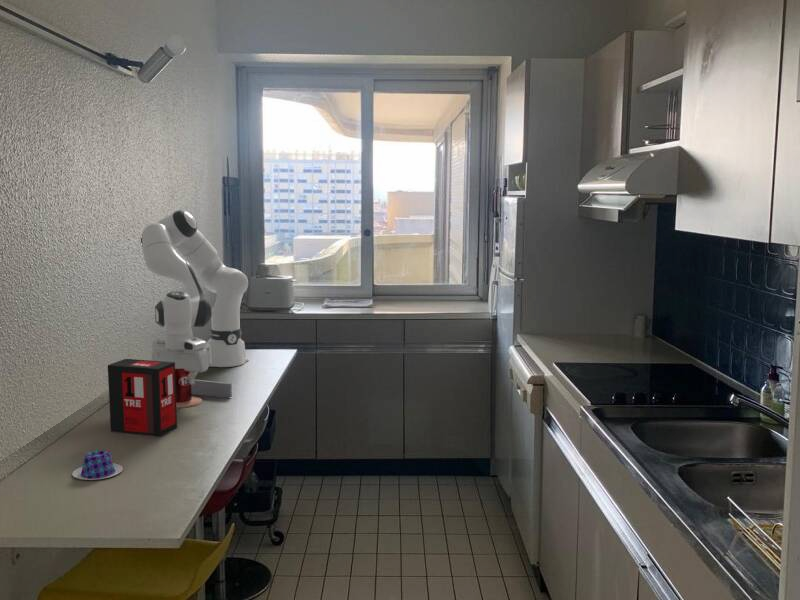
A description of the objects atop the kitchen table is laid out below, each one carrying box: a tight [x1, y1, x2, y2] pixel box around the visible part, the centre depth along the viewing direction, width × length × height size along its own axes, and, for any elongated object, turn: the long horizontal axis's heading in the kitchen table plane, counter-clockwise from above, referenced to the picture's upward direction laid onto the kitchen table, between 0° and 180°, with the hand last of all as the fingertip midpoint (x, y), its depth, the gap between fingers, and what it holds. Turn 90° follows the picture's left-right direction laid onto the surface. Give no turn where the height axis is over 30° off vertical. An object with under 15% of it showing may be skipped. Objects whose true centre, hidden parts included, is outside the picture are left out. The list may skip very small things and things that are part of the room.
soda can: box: [175, 367, 193, 404], centre depth 268 cm, size 7×7×12 cm
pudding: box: [71, 450, 124, 481], centre depth 204 cm, size 12×12×5 cm
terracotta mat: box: [176, 396, 203, 409], centre depth 269 cm, size 13×13×1 cm
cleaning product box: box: [107, 358, 178, 438], centre depth 238 cm, size 16×9×20 cm, turn 74°
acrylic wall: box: [191, 379, 233, 398], centre depth 278 cm, size 24×1×5 cm, turn 70°
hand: (180, 382), depth 268 cm, fingers open, 7 cm apart
